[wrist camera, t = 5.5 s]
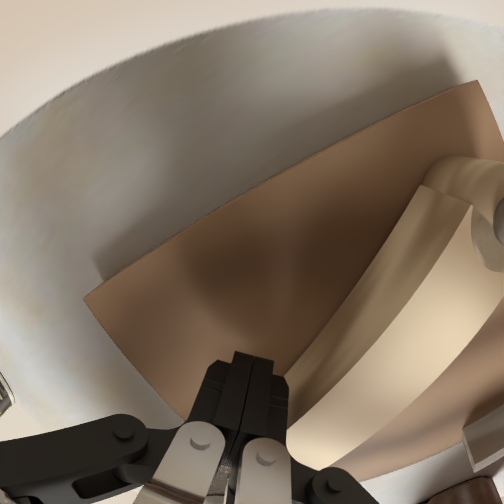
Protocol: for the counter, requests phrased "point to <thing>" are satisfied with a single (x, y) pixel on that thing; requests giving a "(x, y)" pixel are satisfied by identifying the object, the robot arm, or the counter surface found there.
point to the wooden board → (314, 280)
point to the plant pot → (469, 493)
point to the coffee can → (5, 396)
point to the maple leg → (403, 313)
